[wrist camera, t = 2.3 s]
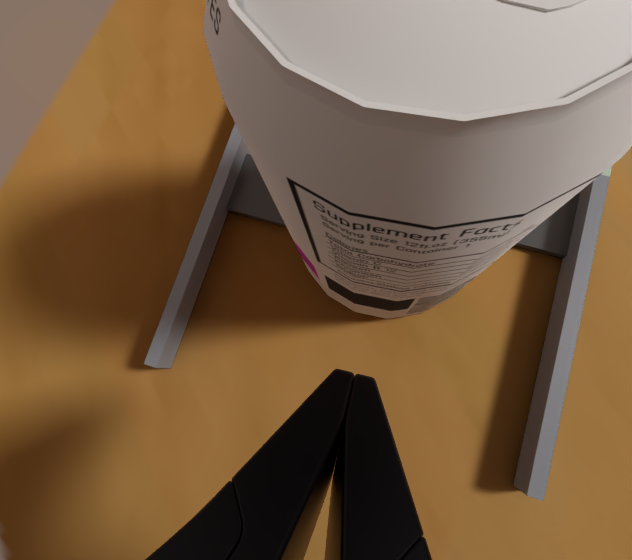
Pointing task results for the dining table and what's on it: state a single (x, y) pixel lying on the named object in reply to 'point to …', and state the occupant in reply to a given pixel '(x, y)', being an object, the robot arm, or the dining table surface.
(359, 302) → the supplement can
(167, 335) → the grey bars
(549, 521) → the dining table surface
